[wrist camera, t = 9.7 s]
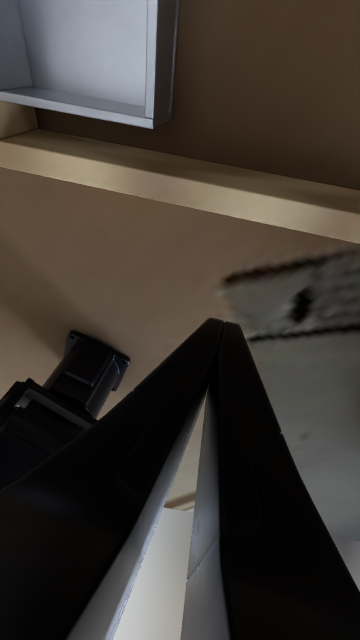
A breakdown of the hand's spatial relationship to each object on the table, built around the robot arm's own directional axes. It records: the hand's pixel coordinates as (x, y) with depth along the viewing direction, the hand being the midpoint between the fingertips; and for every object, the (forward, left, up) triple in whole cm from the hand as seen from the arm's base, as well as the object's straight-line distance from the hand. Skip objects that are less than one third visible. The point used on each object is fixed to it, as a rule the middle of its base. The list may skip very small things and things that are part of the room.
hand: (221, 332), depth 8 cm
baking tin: (+4, +10, -12) cm, 16 cm away
